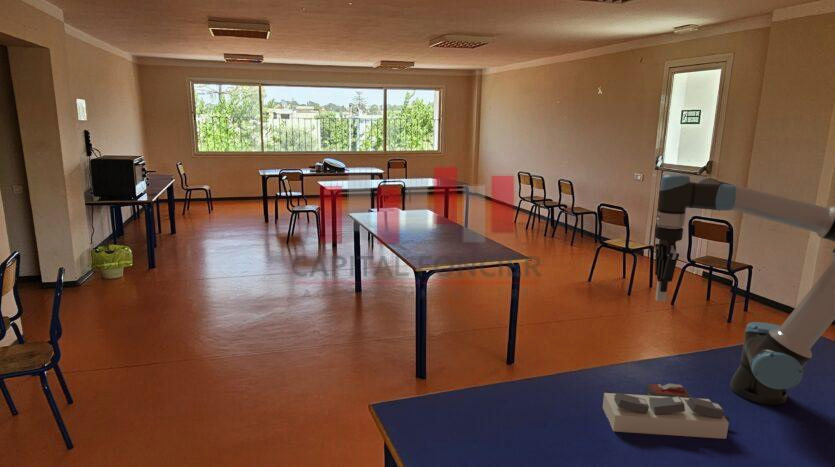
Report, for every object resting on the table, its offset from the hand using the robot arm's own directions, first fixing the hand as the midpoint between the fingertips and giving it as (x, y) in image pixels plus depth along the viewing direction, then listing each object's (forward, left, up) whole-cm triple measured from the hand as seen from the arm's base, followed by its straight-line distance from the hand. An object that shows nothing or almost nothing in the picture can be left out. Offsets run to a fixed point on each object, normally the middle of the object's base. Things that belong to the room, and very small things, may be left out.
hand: (660, 300), depth 160 cm
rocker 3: (-7, +22, -24) cm, 33 cm away
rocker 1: (+13, +22, -24) cm, 35 cm away
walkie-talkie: (-7, +5, -31) cm, 32 cm away
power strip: (+2, +19, -30) cm, 36 cm away
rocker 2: (+3, +22, -24) cm, 33 cm away
